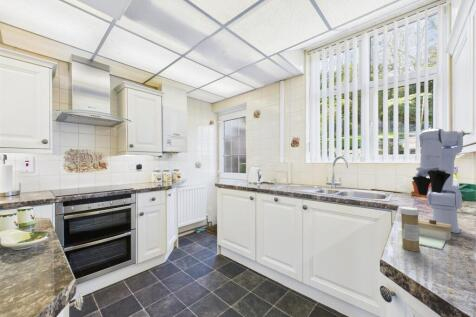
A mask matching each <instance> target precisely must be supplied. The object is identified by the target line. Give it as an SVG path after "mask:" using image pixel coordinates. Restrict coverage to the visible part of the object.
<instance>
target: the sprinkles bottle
mask: <svg viewBox="0 0 476 317" xmlns="http://www.w3.org/2000/svg"><path fill="white" fill-rule="evenodd" d="M399 209H400V214H401V238H402V244H401V246H402V248H403V249H404V250H407V251H411V252H420V251H421V248H420V245H419V224H418V220H419V214H420V213H419V209H418V208H417V207H409V206H402V207H400V208H399Z"/></svg>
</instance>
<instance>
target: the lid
mask: <svg viewBox="0 0 476 317" xmlns="http://www.w3.org/2000/svg"><path fill="white" fill-rule="evenodd" d="M418 224H419V228H423V229H429V230H435V231H440V232H446V233H450V234H451V233H452V232H451V230H452V226H451V224H444V223H438V222H436V220H433V218H432V219H428V220H423V219H418Z"/></svg>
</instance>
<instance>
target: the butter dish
mask: <svg viewBox="0 0 476 317" xmlns="http://www.w3.org/2000/svg"><path fill="white" fill-rule="evenodd" d="M419 235H422V236H427V237H432V238H437V239H442V240H446V242H450V240H451V233H446V232H440V231H435V230H429V229H423V228H419Z"/></svg>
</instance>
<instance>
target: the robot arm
mask: <svg viewBox="0 0 476 317" xmlns="http://www.w3.org/2000/svg"><path fill="white" fill-rule="evenodd" d="M418 136H419V137H418V138H419V147H420V160H419V161H420V163H419V164H420V166H419V167H416V171H417V172H416V173H415V176H412V180H413V181H414V184H415V186H416V189H417V192H418V193H417V194H418V195H419V196H424V197H426V201H427V204H428V205H429V206H431V208H432V220H436V222H438V223H444V224H451V226H452V230H451V233H454V234H455V233H456V234H459V233H460V231H461V227H459V222H458V210H459V209H461V208H462V207H463V206H462V205H463V197H462V195H463V194H462V192H461V190H460V189H459V188H457V187H455V186H453V185H454V173H455V172H454V170H455V160H456V156H457V155H458V154H460V153H462V152H463V148H464V135H463V133H462V132H461V131H457V130H456V131H455V130H448V131H445V130H444V129H443V127H442V128H439V127H434V128H430V129H427V130H422V131H421V132H419V135H418Z"/></svg>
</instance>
